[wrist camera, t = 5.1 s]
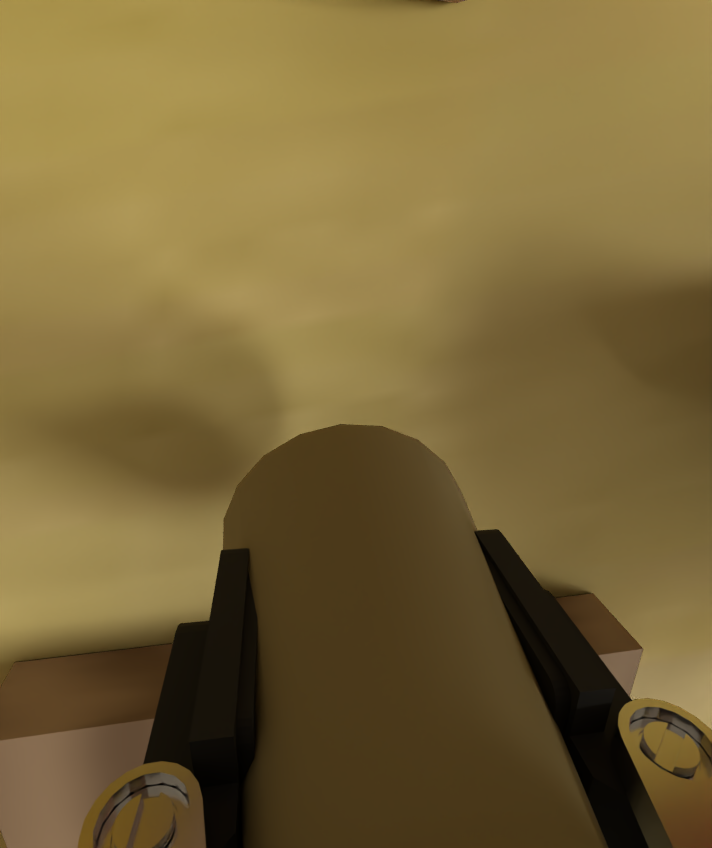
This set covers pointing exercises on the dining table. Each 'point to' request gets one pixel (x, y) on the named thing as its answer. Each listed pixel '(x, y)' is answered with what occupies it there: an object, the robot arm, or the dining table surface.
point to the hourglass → (454, 0)
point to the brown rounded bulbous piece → (389, 662)
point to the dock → (139, 725)
